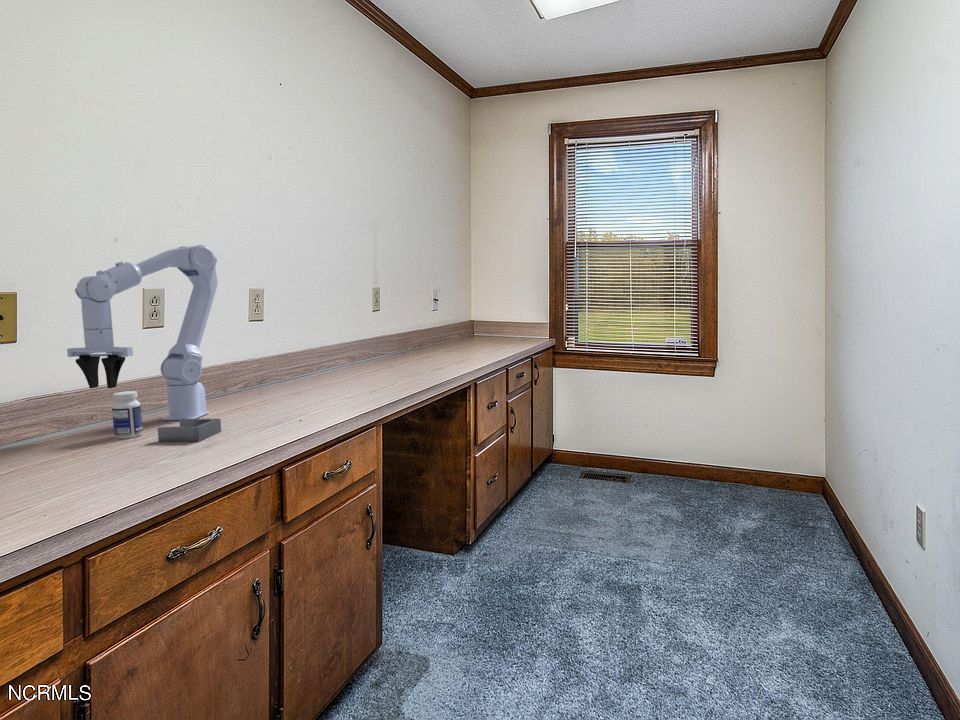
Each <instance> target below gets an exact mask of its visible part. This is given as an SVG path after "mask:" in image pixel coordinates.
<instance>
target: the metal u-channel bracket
mask: <svg viewBox="0 0 960 720" xmlns="http://www.w3.org/2000/svg"><path fill="white" fill-rule="evenodd" d="M178 421H179V426H159V427H157V439H158V442H159V441H182V442H184V443H185V442H187V441H189V442H191V441H192V442H191V443H194V442H196V443H198V442H199V441H200V442H202V441H205V439H208V438H211V437H212V436H214V435H216V434H218V433H221V432H222V422H221V418H196V419H193V418H182V419H180V420H178ZM201 440H202V441H201ZM197 441H198V442H197ZM189 442H188V443H189ZM200 442H199V443H200Z"/></svg>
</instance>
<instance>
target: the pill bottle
mask: <svg viewBox="0 0 960 720" xmlns="http://www.w3.org/2000/svg"><path fill="white" fill-rule="evenodd" d="M112 396H113V400H114V403H112V405H111V415H112V424H113V435H114V437H115V438H116V439H120V440H121V439H122V440H123V439H133V438H136V437H137V438H138V437H140V436H142V435H143V433H144V428H143V427H144V426H143V418H142V406H141V405H142V404H141V402H140V401H138V400H137V398H138V392H137V391H135V390H127V391H118V392H116V393H113V395H112Z"/></svg>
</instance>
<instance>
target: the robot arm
mask: <svg viewBox="0 0 960 720" xmlns="http://www.w3.org/2000/svg"><path fill="white" fill-rule="evenodd" d="M217 262H218V259H217V257H216V256H215V254H214V252H213V251H212V248H210V247H208V246H207V245H204V244H197V245H193V246H192V245H191V246H179V247H177V248H172V249H167V250H165V251H163V252H161V253H159V254H156V255H153V256H151V257H150V258H147V259H145V260H142V261H140V262H138V263H136V264H134V263H131V262H127V261H125V262H124V261H117V262H115V266H113V267H111V268H108V269H106V270H105V269H104V270H102V269H101V270H97V271H96V272H95V273H96V274H95V275H94V276H93V275H92V276H84V277H82V278H80V279H79V282H77V285H76V288H74V292H75V294H76V296H77V297H78V298H79V300H80V303H81V316H82V327H83V339H84V340H83V341H84V347H70V348H67V349H66V351H67V357H68V358H73V357H76V359H75V364H77V366H78V367H79V368H80V370H81V371H82V373H83V375H84V376H85V377H84V378H85V379H86V382H87V384H88V386H89V389H95V388H96V389H97V388H98V387H99V385H100V384H99V381H100V380H99V367H100V366H99V364H100V360H101V363H102V365H103V368H104V372H105V376H106V377H105V379H106V385H107V388H108V389H113V388H117V385H118V378H119V376H120V372H121V369H122V367H123V364H124V363H125V361H126V357H127V358H128V357H133V356H134V353H133V352H134V351H133V350H134V349H133V347H131V346H130V347H128V346H127V347H125V346H123V347H121V346H115V344H114V343H115V342H114V330H113V321H112V309H111V300H112V298H113V297H114V296H115V295H117V294H120V293H122V292H124V291H127V290H130V289H131V288H134V287H137V286H139V285H140V284H141V282H142V279H143V278H144V277H145V276H149V275H151V274H154V273H156V272H160V271H163V270H164V269H167V268H177V269H178V271H180V272H181V273H182V274H183V275H184V276H186V277H187V278H188V279H189V281H190V282H191V284H192V286H193V288H192V290H191V294H190V297H189V300H188V304H187V308H186V309H185V314H184V316H183V320H182V324H181V328H180V330H179V332H178V333H179V334H178V337H177V341H176V343H175V344H174V345H173V346H172V347H171V348H170V349H169V350H168V354H167V356H166V357H165V358H164V359H163V361H162V362H161V364H160V373H161V375H162V377H164V379H165V380H166V393H167V406H168V407H167V408H168V415H167V416H165V417H161V420H162V421H179V420H180V419H182V418H193V419H199V418H201V417H204V416H206V415H208V414H210V411H209V410H208V411H207V402H206V389H205V387H204V385H203V384H202V383H201V382H199V379H200V378H201V376H202V373H203V366H202V365H203V364H202V362H203V358H204V357H203V354H202V352H201V350H200V346H201V342H202V340H203V335H204V332H205V329H206V326H207V323H208V319H209V316H210V312H211V310H212V305H213V302H214V299H215V296H216V292H217V287H218V285H219V284H218V277H217V276H218V275H217V269H216V267H217V266H216V265H217ZM77 357H78V358H77ZM101 357H102V358H101Z"/></svg>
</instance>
